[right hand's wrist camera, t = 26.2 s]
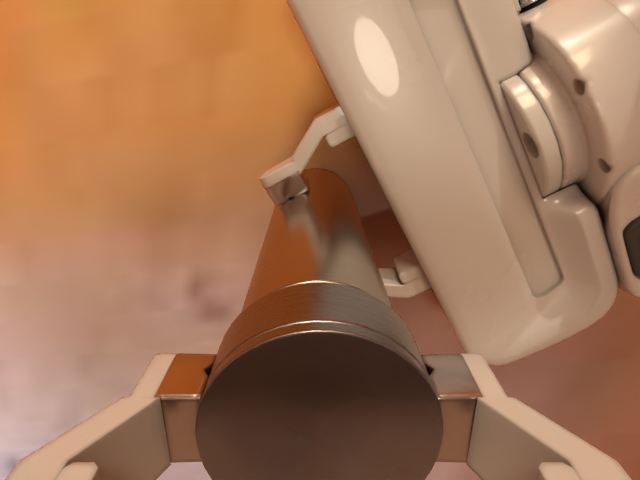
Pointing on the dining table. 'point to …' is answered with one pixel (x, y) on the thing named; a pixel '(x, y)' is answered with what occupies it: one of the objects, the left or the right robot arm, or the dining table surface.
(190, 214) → the dining table surface
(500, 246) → the left robot arm
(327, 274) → the brown cylinder
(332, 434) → the lid
